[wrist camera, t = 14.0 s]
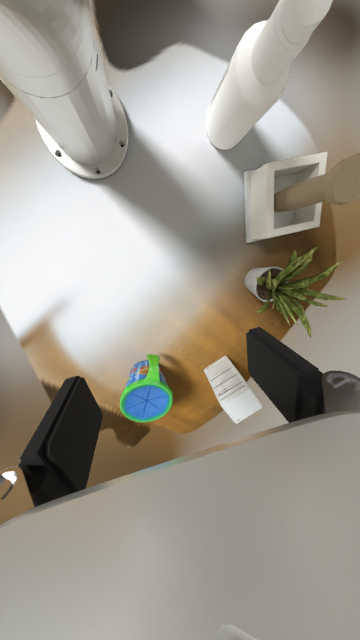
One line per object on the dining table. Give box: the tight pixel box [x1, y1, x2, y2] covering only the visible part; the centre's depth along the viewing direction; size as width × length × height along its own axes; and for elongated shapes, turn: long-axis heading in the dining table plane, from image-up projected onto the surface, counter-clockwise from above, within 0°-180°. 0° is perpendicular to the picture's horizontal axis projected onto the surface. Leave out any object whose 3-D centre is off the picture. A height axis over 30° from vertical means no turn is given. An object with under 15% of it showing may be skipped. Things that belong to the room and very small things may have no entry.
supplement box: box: [204, 356, 262, 424], centre depth 45 cm, size 7×7×13 cm
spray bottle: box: [205, 0, 333, 150], centre depth 23 cm, size 7×7×18 cm
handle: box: [274, 153, 360, 212], centre depth 29 cm, size 5×6×15 cm
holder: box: [243, 152, 327, 243], centre depth 34 cm, size 12×12×6 cm
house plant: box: [244, 244, 344, 337], centre depth 35 cm, size 14×14×16 cm
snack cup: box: [120, 354, 173, 422], centre depth 42 cm, size 16×10×10 cm
